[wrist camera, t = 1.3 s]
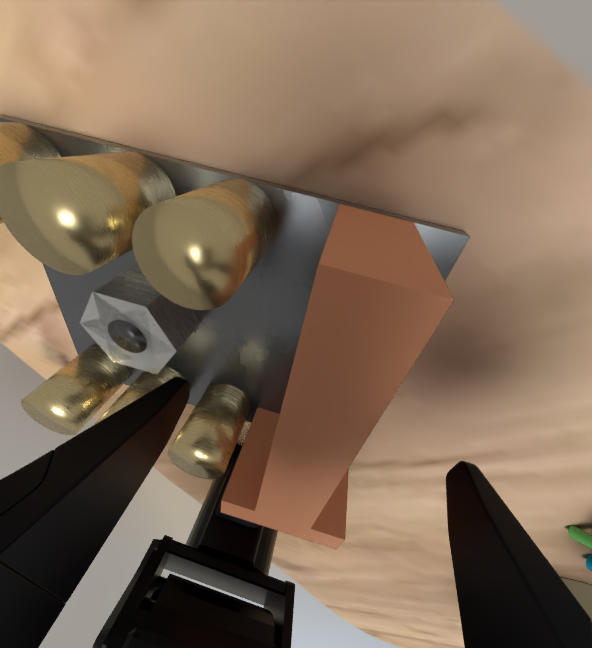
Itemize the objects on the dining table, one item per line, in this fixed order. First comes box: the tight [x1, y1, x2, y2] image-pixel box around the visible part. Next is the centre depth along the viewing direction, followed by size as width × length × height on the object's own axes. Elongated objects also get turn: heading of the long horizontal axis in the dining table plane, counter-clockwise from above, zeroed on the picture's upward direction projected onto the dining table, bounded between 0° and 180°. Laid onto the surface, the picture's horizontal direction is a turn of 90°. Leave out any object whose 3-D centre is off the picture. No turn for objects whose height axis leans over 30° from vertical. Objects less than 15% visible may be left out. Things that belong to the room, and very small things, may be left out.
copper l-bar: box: [221, 204, 454, 549], centre depth 11 cm, size 6×14×5 cm, turn 169°
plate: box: [0, 114, 470, 479], centre depth 13 cm, size 14×18×5 cm
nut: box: [80, 270, 200, 374], centre depth 13 cm, size 4×5×2 cm
